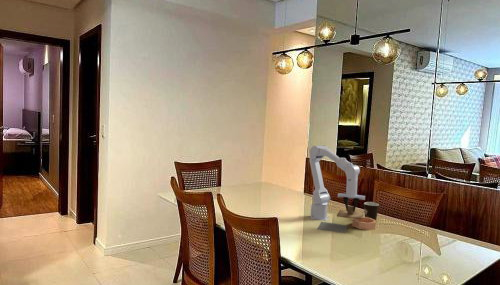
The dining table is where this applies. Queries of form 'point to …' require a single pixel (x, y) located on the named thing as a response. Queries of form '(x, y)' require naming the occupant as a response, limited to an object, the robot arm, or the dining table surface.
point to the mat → (332, 227)
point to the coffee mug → (371, 210)
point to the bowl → (364, 223)
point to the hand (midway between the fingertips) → (350, 211)
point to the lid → (350, 213)
